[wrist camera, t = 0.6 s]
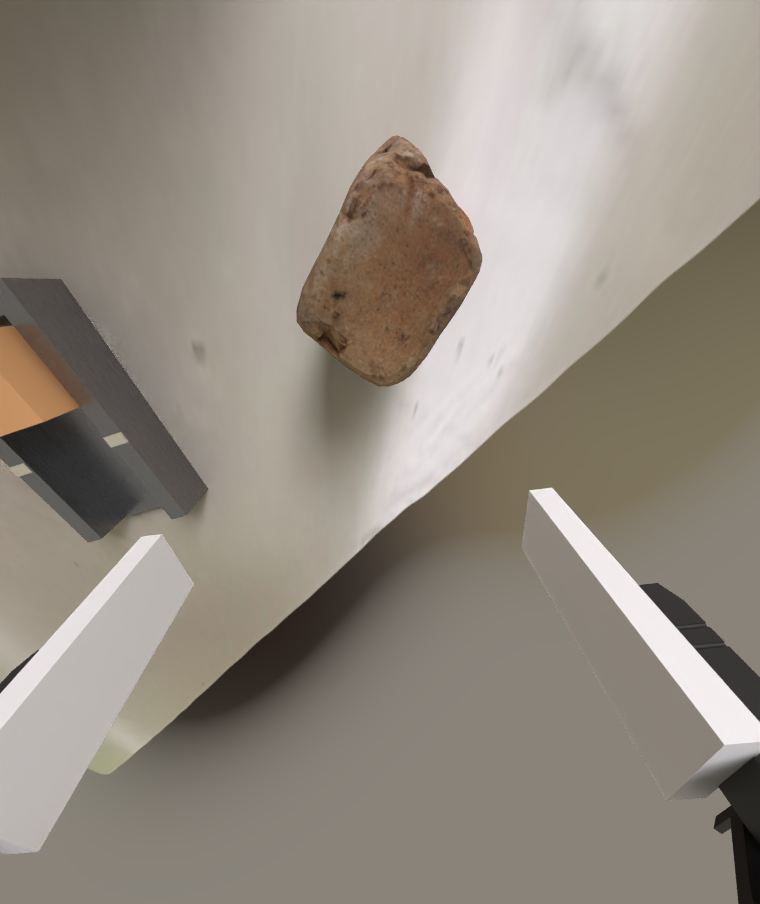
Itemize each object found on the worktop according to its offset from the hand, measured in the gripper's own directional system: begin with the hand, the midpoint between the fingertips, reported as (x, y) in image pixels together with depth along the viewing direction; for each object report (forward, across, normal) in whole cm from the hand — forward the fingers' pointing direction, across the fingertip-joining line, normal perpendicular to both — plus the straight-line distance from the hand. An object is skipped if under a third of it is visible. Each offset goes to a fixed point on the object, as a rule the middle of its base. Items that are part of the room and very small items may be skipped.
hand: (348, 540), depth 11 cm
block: (+27, +3, +8) cm, 28 cm away
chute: (+27, -33, -2) cm, 42 cm away
